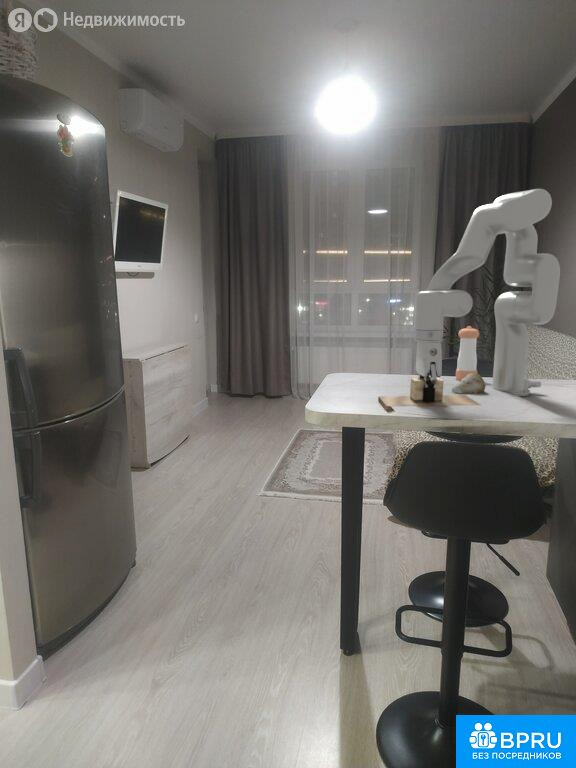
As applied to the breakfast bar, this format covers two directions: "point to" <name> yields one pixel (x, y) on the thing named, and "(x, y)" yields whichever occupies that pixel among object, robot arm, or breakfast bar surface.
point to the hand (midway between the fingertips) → (425, 398)
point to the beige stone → (470, 384)
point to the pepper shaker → (467, 352)
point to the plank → (406, 401)
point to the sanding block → (418, 386)
